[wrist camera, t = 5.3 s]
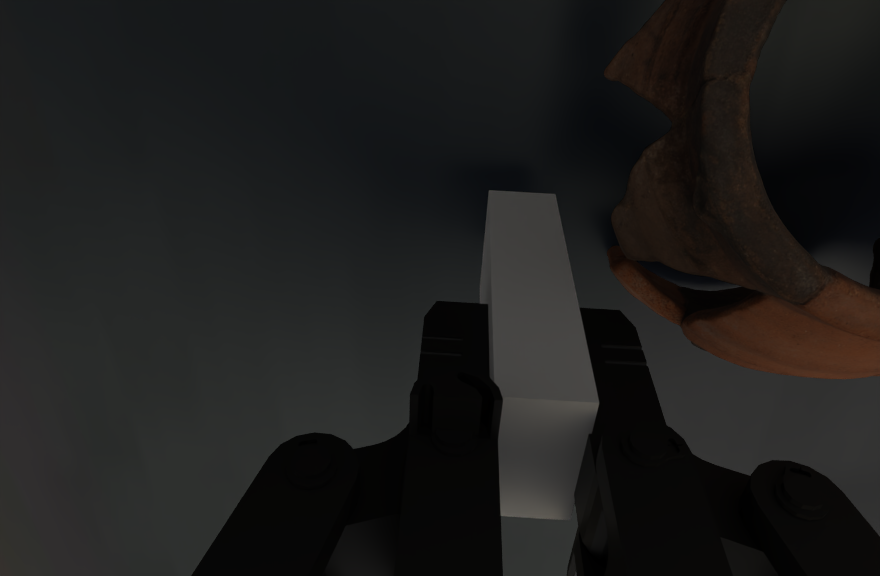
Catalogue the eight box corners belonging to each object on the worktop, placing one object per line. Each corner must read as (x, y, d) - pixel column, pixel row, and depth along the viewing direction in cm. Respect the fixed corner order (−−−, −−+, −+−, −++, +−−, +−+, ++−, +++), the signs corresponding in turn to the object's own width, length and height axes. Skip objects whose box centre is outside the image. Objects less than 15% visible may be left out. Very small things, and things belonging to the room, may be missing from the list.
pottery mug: (490, 233, 18) (524, 242, 10) (674, -90, 17) (885, -385, 9) (870, 448, 18) (1215, 633, 10) (1069, 143, 17) (1628, 72, 9)
